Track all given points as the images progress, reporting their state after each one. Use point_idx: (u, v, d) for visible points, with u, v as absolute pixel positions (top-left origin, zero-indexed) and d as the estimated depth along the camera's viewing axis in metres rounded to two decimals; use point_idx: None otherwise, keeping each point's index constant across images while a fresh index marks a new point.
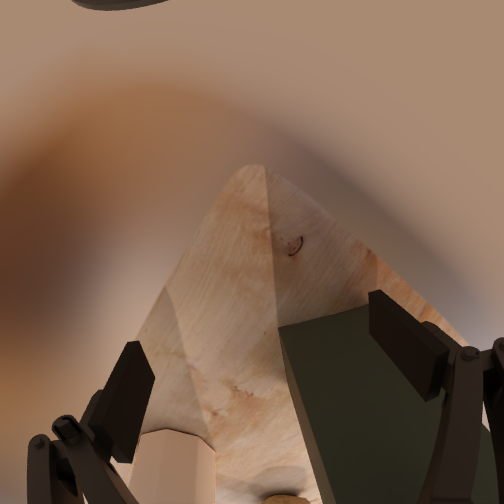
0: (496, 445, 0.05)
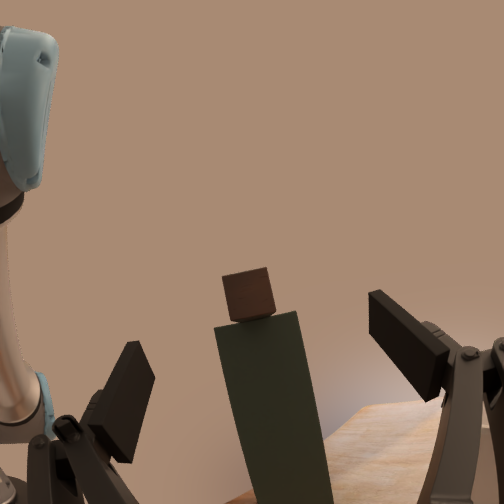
0: (496, 445, 0.05)
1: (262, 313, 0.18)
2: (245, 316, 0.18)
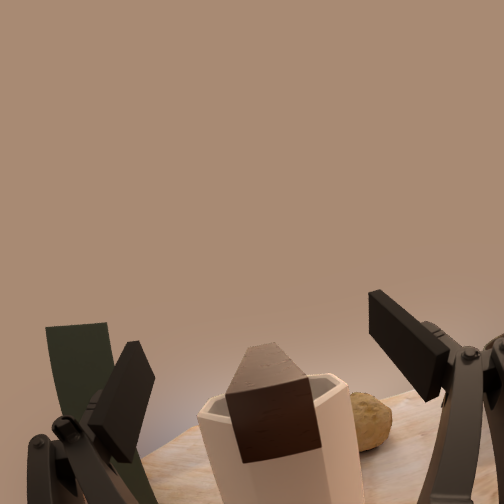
0: (496, 445, 0.05)
1: (298, 452, 0.09)
2: (268, 457, 0.09)
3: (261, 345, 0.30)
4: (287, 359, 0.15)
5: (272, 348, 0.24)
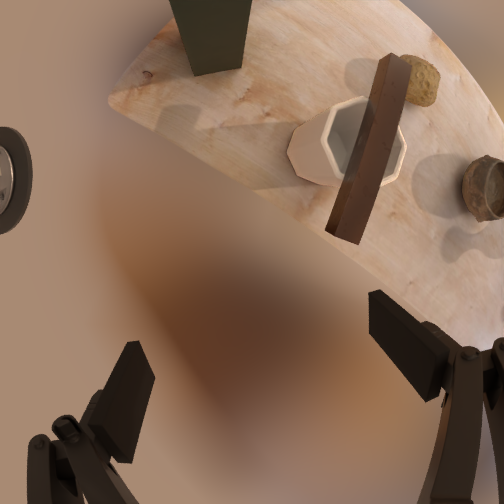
0: (496, 445, 0.05)
1: None
2: None
3: (401, 64, 0.23)
4: (376, 192, 0.27)
5: (396, 113, 0.25)
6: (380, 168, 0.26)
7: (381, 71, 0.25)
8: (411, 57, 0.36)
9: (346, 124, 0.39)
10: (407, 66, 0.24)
